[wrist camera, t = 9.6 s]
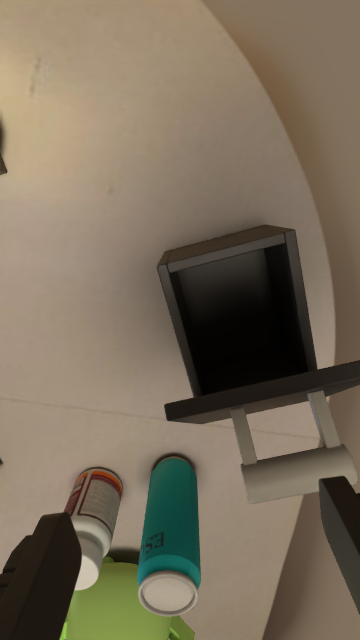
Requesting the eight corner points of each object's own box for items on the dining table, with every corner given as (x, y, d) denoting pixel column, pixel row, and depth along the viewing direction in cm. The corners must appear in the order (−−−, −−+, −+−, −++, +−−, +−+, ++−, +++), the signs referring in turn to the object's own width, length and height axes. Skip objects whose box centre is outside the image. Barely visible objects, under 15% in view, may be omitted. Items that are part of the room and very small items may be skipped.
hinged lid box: (164, 251, 36) (156, 266, 26) (265, 224, 35) (295, 229, 25) (196, 367, 39) (199, 416, 30) (288, 346, 38) (320, 390, 29)
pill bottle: (83, 507, 46) (51, 598, 35) (70, 469, 44) (33, 553, 33) (128, 501, 45) (110, 591, 35) (117, 463, 44) (94, 545, 33)
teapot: (54, 605, 52) (15, 724, 40) (56, 537, 48) (12, 648, 36) (187, 619, 52) (187, 742, 40) (200, 554, 48) (204, 668, 36)
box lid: (163, 404, 16) (185, 527, 15) (393, 352, 15) (446, 478, 14) (198, 414, 30) (212, 479, 28) (321, 387, 29) (343, 453, 27)
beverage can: (142, 470, 44) (120, 596, 30) (173, 443, 43) (166, 561, 28) (174, 496, 45) (169, 628, 31) (206, 470, 44) (215, 596, 29)
